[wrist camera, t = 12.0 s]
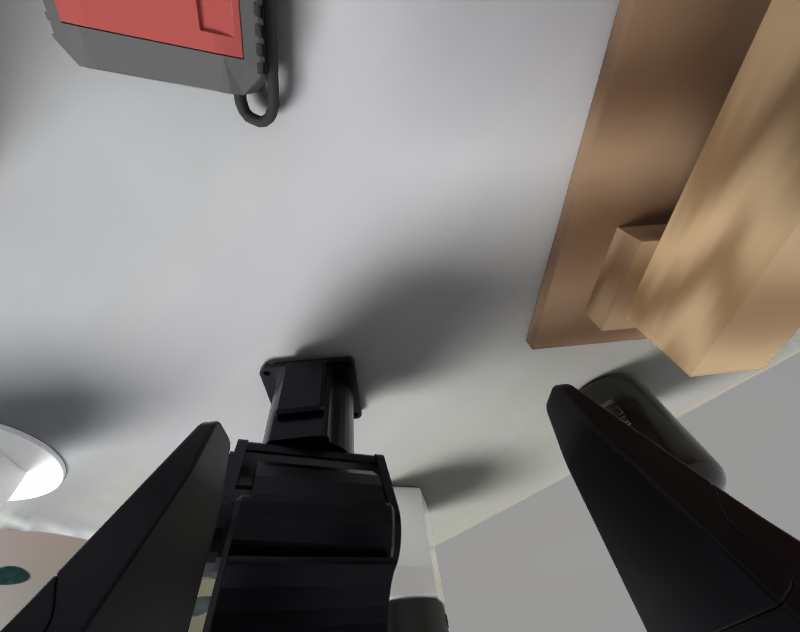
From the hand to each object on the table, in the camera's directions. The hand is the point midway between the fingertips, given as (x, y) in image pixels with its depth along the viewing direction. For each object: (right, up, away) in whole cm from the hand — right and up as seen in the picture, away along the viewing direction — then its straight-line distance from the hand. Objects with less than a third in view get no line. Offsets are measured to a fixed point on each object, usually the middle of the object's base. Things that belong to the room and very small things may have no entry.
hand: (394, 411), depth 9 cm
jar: (-1, -18, +29) cm, 34 cm away
